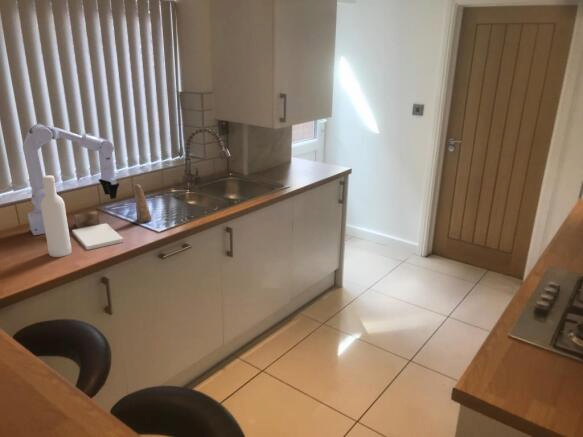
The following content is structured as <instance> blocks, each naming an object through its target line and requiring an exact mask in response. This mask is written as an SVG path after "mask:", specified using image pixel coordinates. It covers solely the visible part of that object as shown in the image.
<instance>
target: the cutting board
mask: <svg viewBox="0 0 583 437" xmlns="http://www.w3.org/2000/svg"><path fill="white" fill-rule="evenodd" d="M71 232H72V234H73V235H74V236H75V238H76V239H77V240H78V241H79V242H80V243H81V244H82V246H83V247H84V248H85V249H86V250H87V251H89V250H94V249H99V248H102V247H103V248H104V247H106V246H112V245H116V244H120V243H124V242H125V241H124V240H125V239H124V237H122V236H121V235H120V234H119V233H118V232H117V231H116V230H115V229H113V228H112V227H111V226H110V225H109V224H108V223H100V224H97V225H92V226H87V227H82V228H76V229H72V231H71Z"/></svg>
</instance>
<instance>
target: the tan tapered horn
mask: <svg viewBox="0 0 583 437" xmlns="http://www.w3.org/2000/svg"><path fill="white" fill-rule="evenodd" d="M133 192H134V201H135V212H136V220H137V222H138V223H148V222H151V221H152V214H151V213H150V210H149V207H148V204H147V200H146V198H145V193H144V190H143V188H142V186H141V184H140V183H135V184H134V189H133Z"/></svg>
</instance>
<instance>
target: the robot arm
mask: <svg viewBox="0 0 583 437" xmlns="http://www.w3.org/2000/svg"><path fill="white" fill-rule="evenodd" d="M58 139H63V140H68V141H70V142H75V143H78V144H79V146H80V147H82V148H85V149H88V150H92V151H94V152H95V151H97V152H98V160H99V169H100V179H98V182H99V184H100V185H101V187H102V189H103V192H104V195H105V196H107V195H109V198H110V199H111V200H114V199H116V197H117V192H118V188H119V186H120V183H119V182H117V178H118V177H119V176H118V175H117V174H116V173H115V164H114V156H113V152H114V149H115V146H114V145H113V143H112V142H111V141H109V140H108V139H105V138H103V137H101V136H99V137H97V136H95V135H92V133H90V132H88V133H83V134H78V133H74V132H72V131H67V130H65V129H62V128H60V127H56V126H53V125H52V126H51V125H44V124H41V123H35V124H34V125H32V126H31V127H30V128H29V129H28V131H27V134H26V136H25V139H24V142H23V144H22V151H23V154H24V159H25V164H26V168H27V172H28V176H29V180H30V185H31V198H30V201H31V204H32V205H33V209H32V211H31V212H28V213H27V217H28V218H27V219H28V224H29V231H30V232H31V233H32V235H33V236H37V235H42V234H46V233H45V227H44V221H43V215H42V209H41V202H42V199H43V198H44V197H45V196H46V194H45V188H44V183H43V177H44V175H43V171H42V166H41V163H40V158H39V152H38V151H39V150H40V149H41V148H42V147H43V146H44V145H45V144H47V143H49V142H51V141H52V140H58Z"/></svg>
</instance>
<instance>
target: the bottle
mask: <svg viewBox="0 0 583 437" xmlns="http://www.w3.org/2000/svg"><path fill="white" fill-rule="evenodd" d="M43 183H44V188H45V194H46V196H45V197H44V198H43V199H42V202H41V209H42V215H43V221H44V227H45V233H44V234H45V238H46V243H47V251H48V252H47V253H48V254H49V256H50V257H53V258H62V257H65V256H68V255H70V254H71V253H72V251H73V250H72V243H71V238H70V232H69V231H70V230H69V226H68V225H69V224H68V218H67V211H66V204H65V201H64V199H63V198H62V197H61V196H60V195H59V194H57V187H56V179H55V176H54V175H43Z"/></svg>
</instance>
